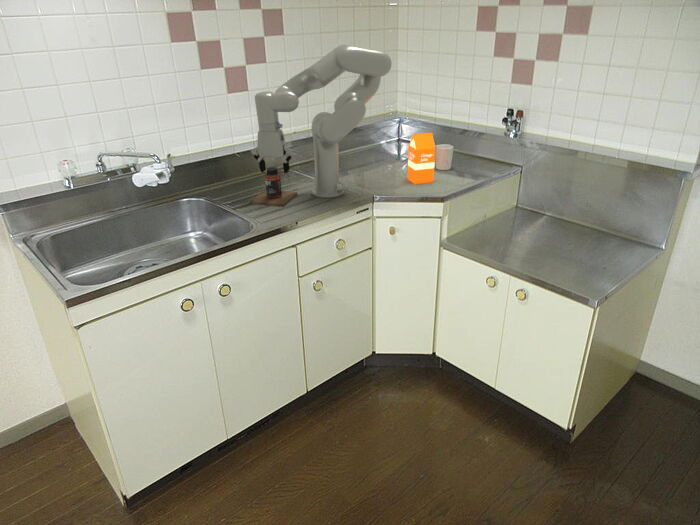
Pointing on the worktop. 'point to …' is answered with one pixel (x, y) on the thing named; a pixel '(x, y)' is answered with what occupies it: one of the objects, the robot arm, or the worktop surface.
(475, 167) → the worktop surface
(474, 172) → the worktop surface
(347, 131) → the robot arm
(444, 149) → the white cup
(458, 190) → the worktop surface
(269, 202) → the walnut board
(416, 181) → the orange juice
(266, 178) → the supplement bottle
